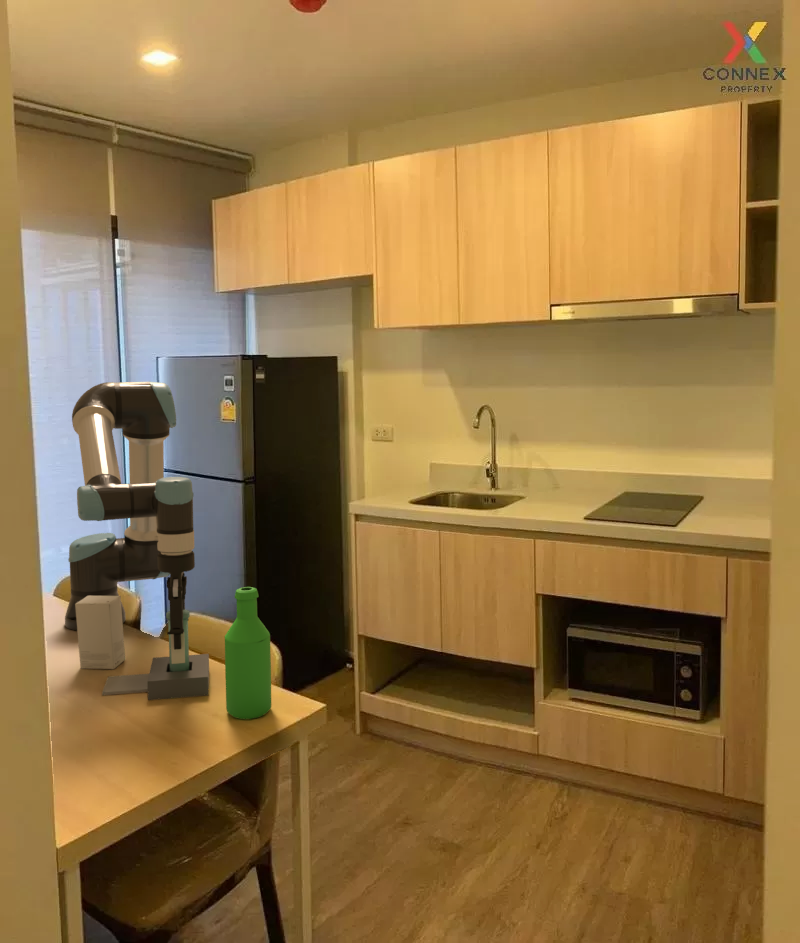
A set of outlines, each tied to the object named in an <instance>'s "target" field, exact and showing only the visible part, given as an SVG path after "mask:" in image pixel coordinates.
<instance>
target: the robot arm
mask: <svg viewBox="0 0 800 943" xmlns="http://www.w3.org/2000/svg"><path fill="white" fill-rule="evenodd" d="M175 406H176V405H175V401H174V397H173V393H172V390H171V387H170V386H169V385H168V384H167V383H165V382H157V381H156V382H155V381H128V382H126V381H124V382H123V381H121V382H118V381H117V382H116V381H114V382H113V381H109V382H102V383H99V384H95V385H94V386H91V387H90V388H89V389H87V390H86V391H85V392H84V393H83V394H82V395H81V396H80V397H79V398H78V399H77V401H76V402H75V405H74V406H73V409H72V414H71V422H72V424H71V425H72V428H73V430H74V432H75V433H76V434H77V435H78V440H79V450H80V457H81V466H82V472H83V482H84V485H82V486H81V485H80V486H78V488H77V489H76V504H77V514H78V515H77V516H78V518H79V519H80V520H81V521H84V522H85V521H86V522H88V521H89V522H91V521H95V522H96V521H97V522H102V521H111V520H124V519H125V520H126V519H129V524H130V525H129V526H128V527H127V528H125V530H124V533H123V534H124V537H119V538H117V536H116V535H115V533H114V532H113V533H112V532H101V533H100V532H99V533H93V534H89V535H85V536H82V537H79V538H76V539H75V540H73V541H72V542H71V543H70V545H69V548H68V549H69V550H68V551H69V552H68V553H69V555H68V559H67V560H68V563H69V573H70V574H69V578H70V579H69V580H70V581H69V582H70V585H69V586H70V599H69V602H68V606H67V608H66V612H65V616H64V626H65V627H66V628H67V629H68V630H71V631H77V619H76V607H75V604H76V603H77V602H79V601H81V600H82V599H84V598H85V597H87V596H120V595H119V591H118V583H122V582H134V581H143V580H144V581H145V580H157V579H161V578H162V579H163V578H166V579H167V580H166V588H167V598H168V599H167V600H168V601H169V611H170V632H169V631H167V632H166V633H167V635H168V636H169V634H171V660H172V664H177V663H185V641H184V629H183V609H184V610H186V602H185V601H186V595H187V594H186V593H187V584H188V581H187V580H188V579H187V577H188V576H186V574H185V573H187V572H190V571H192V570H193V569H194V568H195V564H196V563H195V551H194V549H195V529H194V496H195V495H194V491H193V483H192V480H191V479H190V478H188V477H184V476H167V477H164V474H165V473H164V467H165V466H164V465H165V464H164V461H165V460H164V459H165V458H164V454H165V453H164V443H165V442H164V441H165V440H166V439H168V437H170V433H171V432H170V430H171V429H173V428H175V427H176V425H177V413H176V407H175ZM114 429H115V430H116V429H120V430H121V429H122V436H123V437H124V438H126V439H127V440H128V454H129V455H128V456H129V457H128V461H129V464H128V465H129V466H128V467H129V483H122V479H121V474H120V468H119V463H118V457H117V452H116V446H115V440H114V434H113V430H114ZM121 609H122V622H123V623H125V621H126V611H125V608H124V605H123V602H122V601H121ZM189 619H190V617H189V618H188V621H189Z"/></svg>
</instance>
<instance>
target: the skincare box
mask: <svg viewBox="0 0 800 943" xmlns="http://www.w3.org/2000/svg"><path fill="white" fill-rule="evenodd" d="M121 597H122V596H121V595H119V596H87V597H85V598H84V599H82V600H81V601H79V602H77V603H76V604H75V607H76V619H77V630H76V632H77V643H78V652H79V653H78V654H79V665H80V669H82V670H83V669H85V670H86V669H89V670H91V669H93V670H95V669H96V670H114V669H116V668H117V667H118V666H119V665H121V664H122V663H123V662H124V661H125V660H126V653H125V652H126V651H125V649H126V648H125V639H124V638H125V636H124V635H125V634H124V627H123V625H124V622H122V609H121V602H122V598H121Z"/></svg>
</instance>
